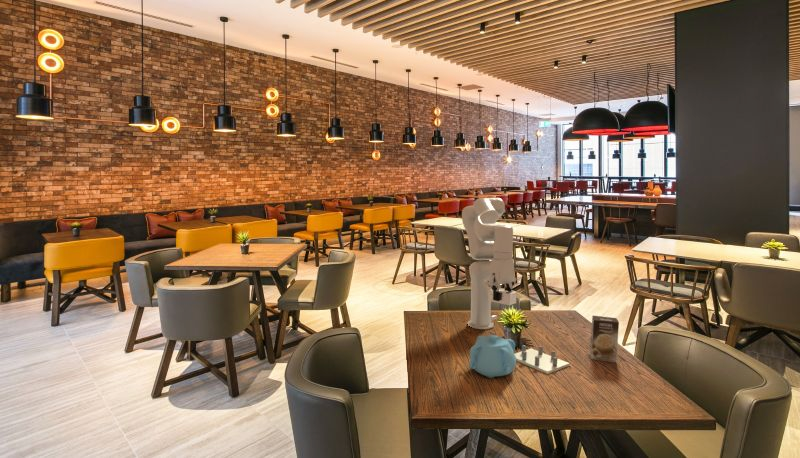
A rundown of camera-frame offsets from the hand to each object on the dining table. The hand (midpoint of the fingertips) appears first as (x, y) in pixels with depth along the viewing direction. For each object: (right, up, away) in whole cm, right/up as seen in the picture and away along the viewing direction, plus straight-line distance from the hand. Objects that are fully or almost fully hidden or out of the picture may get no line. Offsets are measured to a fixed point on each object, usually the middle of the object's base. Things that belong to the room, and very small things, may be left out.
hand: (502, 298), depth 177 cm
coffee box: (+39, -23, -6) cm, 45 cm away
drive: (0, -1, 0) cm, 1 cm away
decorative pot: (-8, -24, -18) cm, 31 cm away
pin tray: (+12, -23, -9) cm, 27 cm away
